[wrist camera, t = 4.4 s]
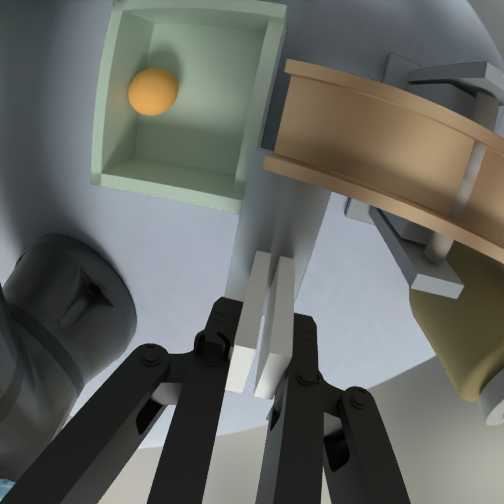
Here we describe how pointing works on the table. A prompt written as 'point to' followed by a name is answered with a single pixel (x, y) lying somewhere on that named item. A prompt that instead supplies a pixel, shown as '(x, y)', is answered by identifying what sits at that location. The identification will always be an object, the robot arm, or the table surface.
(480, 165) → the lever
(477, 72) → the fulcrum
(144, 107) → the ball
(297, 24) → the table surface
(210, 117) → the dish
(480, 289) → the squeeze bottle
